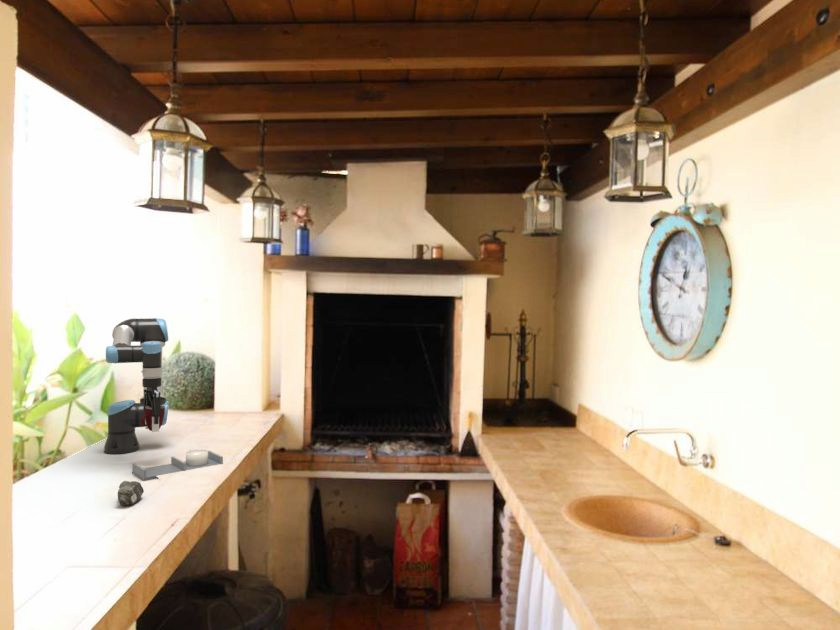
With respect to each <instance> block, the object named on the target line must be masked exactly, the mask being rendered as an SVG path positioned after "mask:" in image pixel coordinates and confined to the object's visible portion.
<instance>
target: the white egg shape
mask: <svg viewBox="0 0 840 630" xmlns="http://www.w3.org/2000/svg"><path fill="white" fill-rule="evenodd" d="M208 451H209V450H207V449H194V450H193V449H192V450H191V449H190V450H188V451H186V452H185V461H186V465H187V466H203V465H206V464H208Z"/></svg>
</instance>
